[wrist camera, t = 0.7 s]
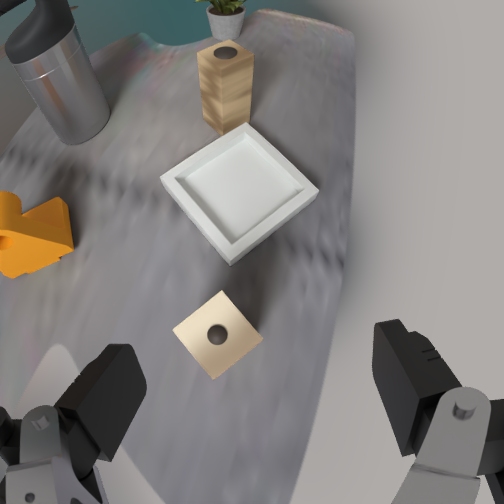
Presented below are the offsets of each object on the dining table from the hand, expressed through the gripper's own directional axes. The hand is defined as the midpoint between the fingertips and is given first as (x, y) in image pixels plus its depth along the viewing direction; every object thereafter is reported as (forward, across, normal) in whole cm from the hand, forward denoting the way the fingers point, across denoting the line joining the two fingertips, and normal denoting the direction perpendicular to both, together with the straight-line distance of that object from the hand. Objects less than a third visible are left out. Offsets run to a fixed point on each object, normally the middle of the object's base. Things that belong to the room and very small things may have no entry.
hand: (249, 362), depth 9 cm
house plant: (+48, +2, -32) cm, 58 cm away
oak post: (+35, +4, -13) cm, 37 cm away
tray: (+29, +3, -3) cm, 29 cm away
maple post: (+19, +6, +11) cm, 23 cm away
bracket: (+22, +29, -2) cm, 37 cm away
